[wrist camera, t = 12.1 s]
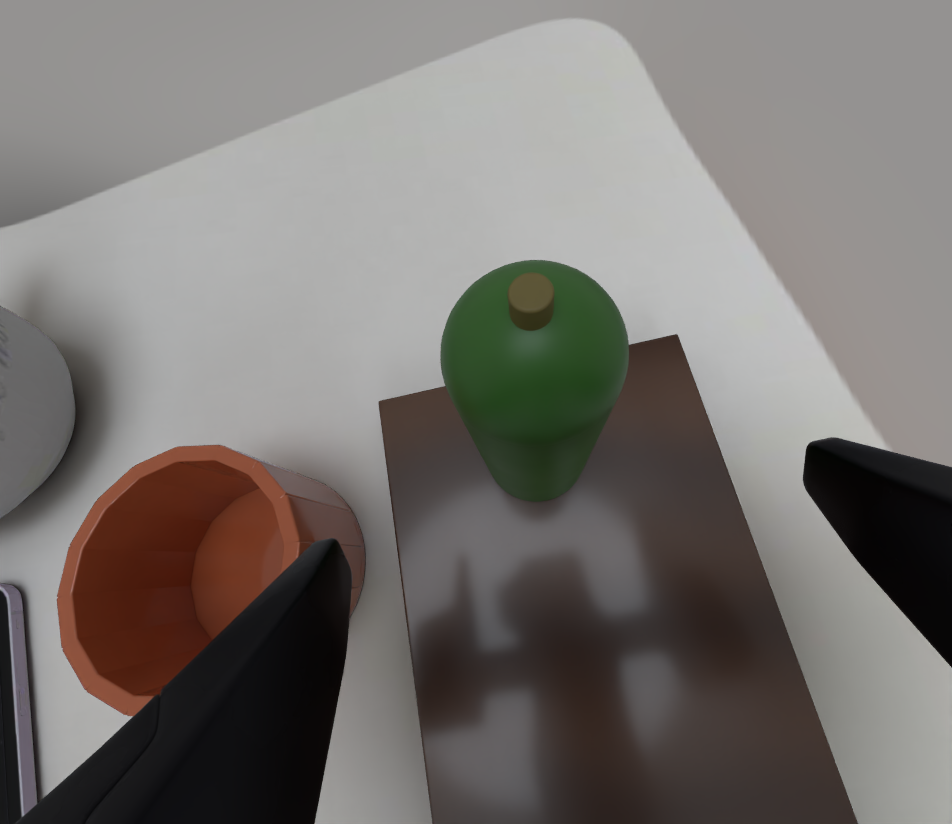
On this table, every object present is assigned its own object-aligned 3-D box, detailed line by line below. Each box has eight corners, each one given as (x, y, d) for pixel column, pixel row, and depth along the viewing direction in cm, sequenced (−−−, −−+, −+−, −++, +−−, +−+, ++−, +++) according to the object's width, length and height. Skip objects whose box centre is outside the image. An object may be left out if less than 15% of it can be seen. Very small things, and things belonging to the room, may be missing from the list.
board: (895, 987, 13) (938, 1039, 12) (474, 1045, 14) (467, 1100, 12) (667, 349, 19) (678, 332, 18) (389, 412, 20) (377, 400, 19)
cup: (359, 672, 17) (282, 720, 12) (174, 670, 18) (26, 714, 13) (370, 472, 19) (310, 440, 14) (205, 478, 20) (91, 450, 15)
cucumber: (569, 515, 16) (622, 438, 6) (473, 484, 17) (377, 367, 7) (596, 421, 17) (681, 216, 7) (503, 395, 18) (458, 175, 8)
